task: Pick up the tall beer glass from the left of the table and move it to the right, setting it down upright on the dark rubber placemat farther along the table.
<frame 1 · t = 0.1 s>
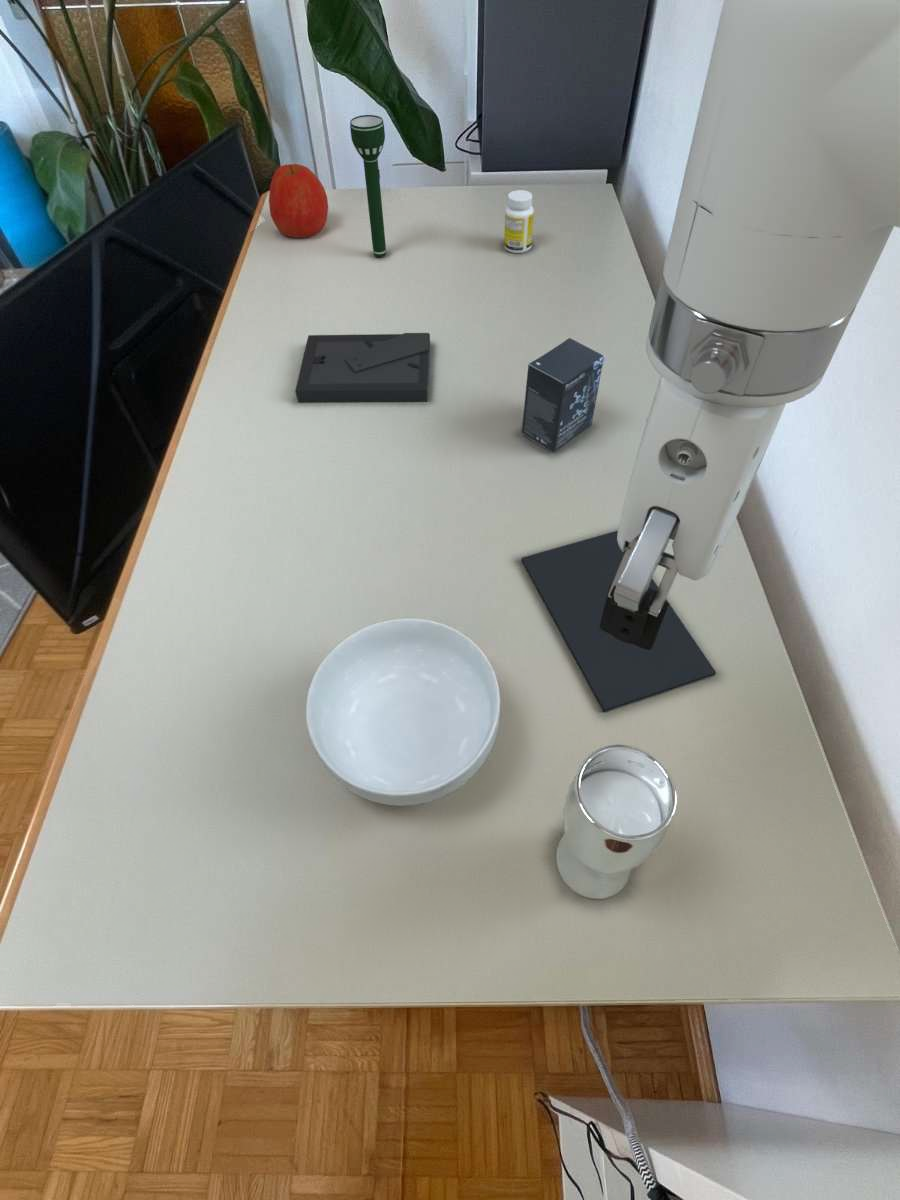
hand: (656, 579, 43), 25 cm above the table, tool pointing down, fingers open, 9 cm apart
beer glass: (592, 861, 58), on the table
picture frame: (366, 374, 99), on the table
cereal bowl: (408, 736, 65), on the table
flashlight: (380, 256, 120), on the table
placemat: (611, 614, 72), on the table
apple: (302, 230, 126), on the table
supplement bottle: (517, 248, 120), on the table
box: (556, 431, 91), on the table
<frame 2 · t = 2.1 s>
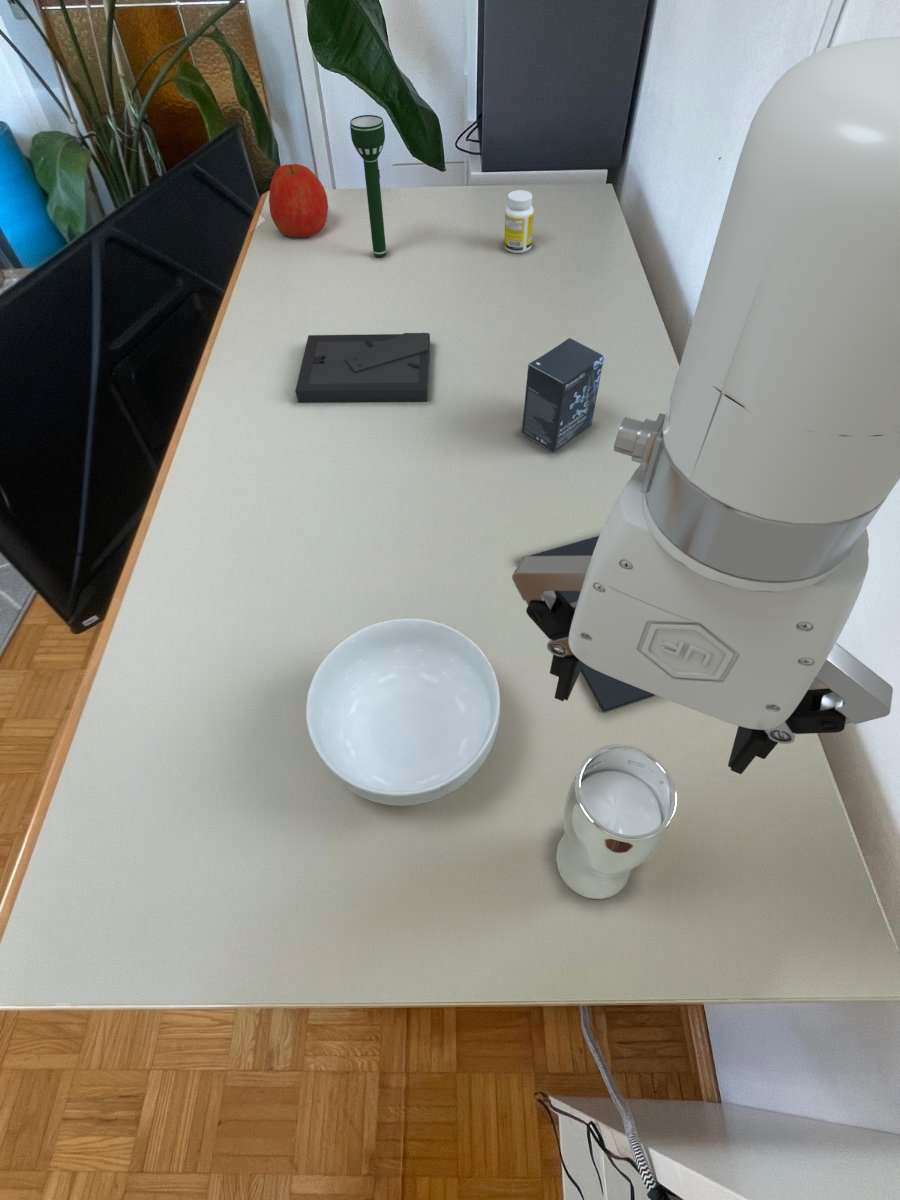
hand: (651, 713, 38), 24 cm above the table, tool pointing down, fingers open, 9 cm apart
nothing on the table moved.
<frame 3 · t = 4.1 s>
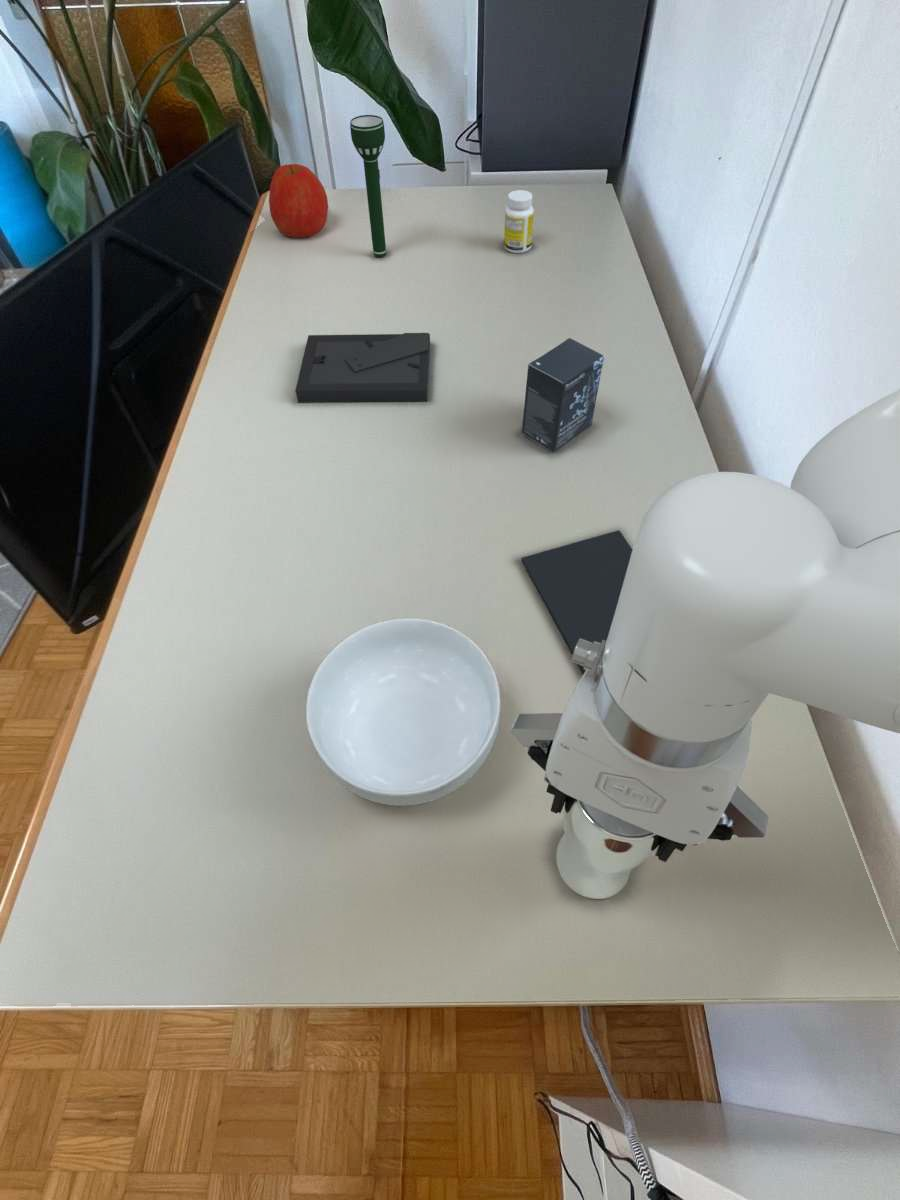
hand: (613, 816, 49), 10 cm above the table, tool pointing down, fingers closed on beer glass, 7 cm apart
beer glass: (592, 861, 58), on the table, touching gripper
everything else where it was.
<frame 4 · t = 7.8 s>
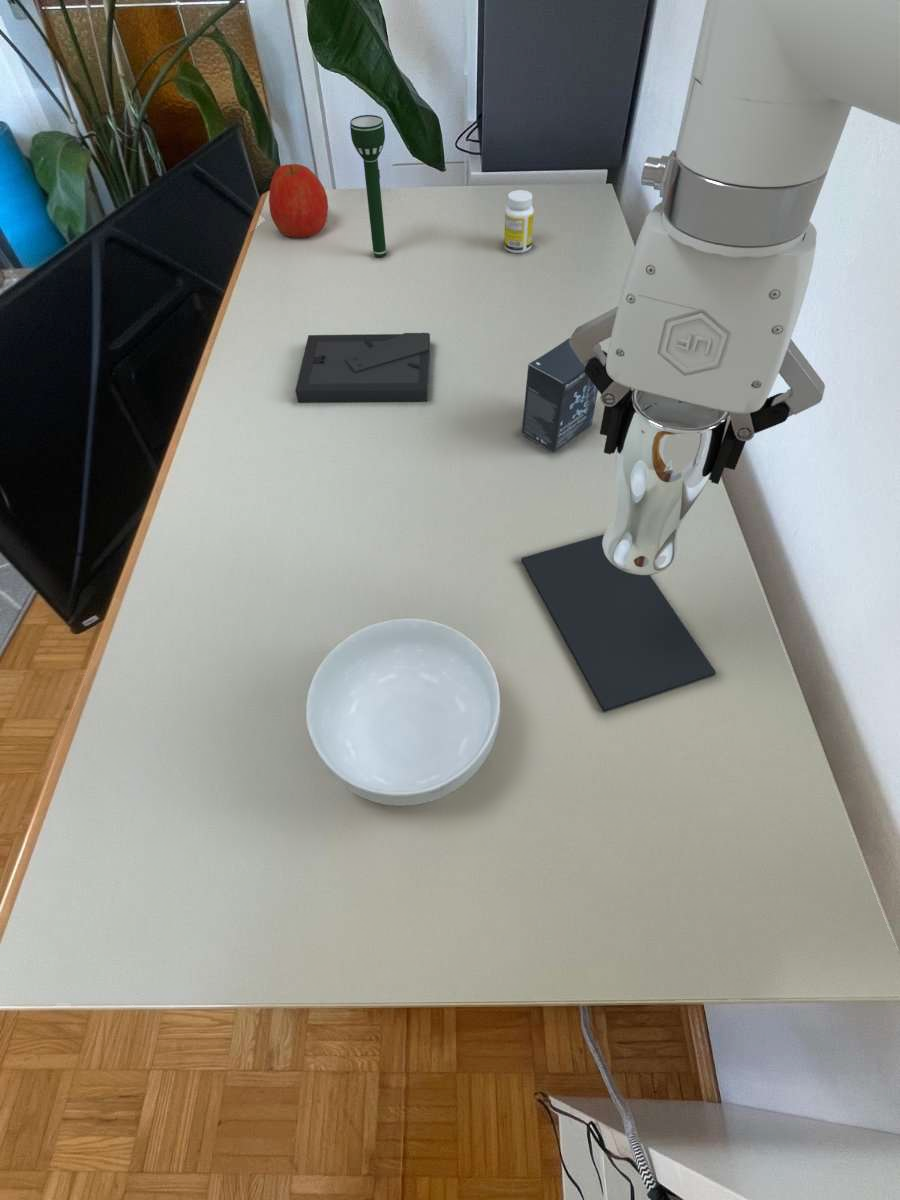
hand: (665, 455, 51), 25 cm above the table, tool pointing down, fingers closed on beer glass, 7 cm apart
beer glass: (637, 550, 59), point 14 cm above the table, touching gripper
everything else where it was.
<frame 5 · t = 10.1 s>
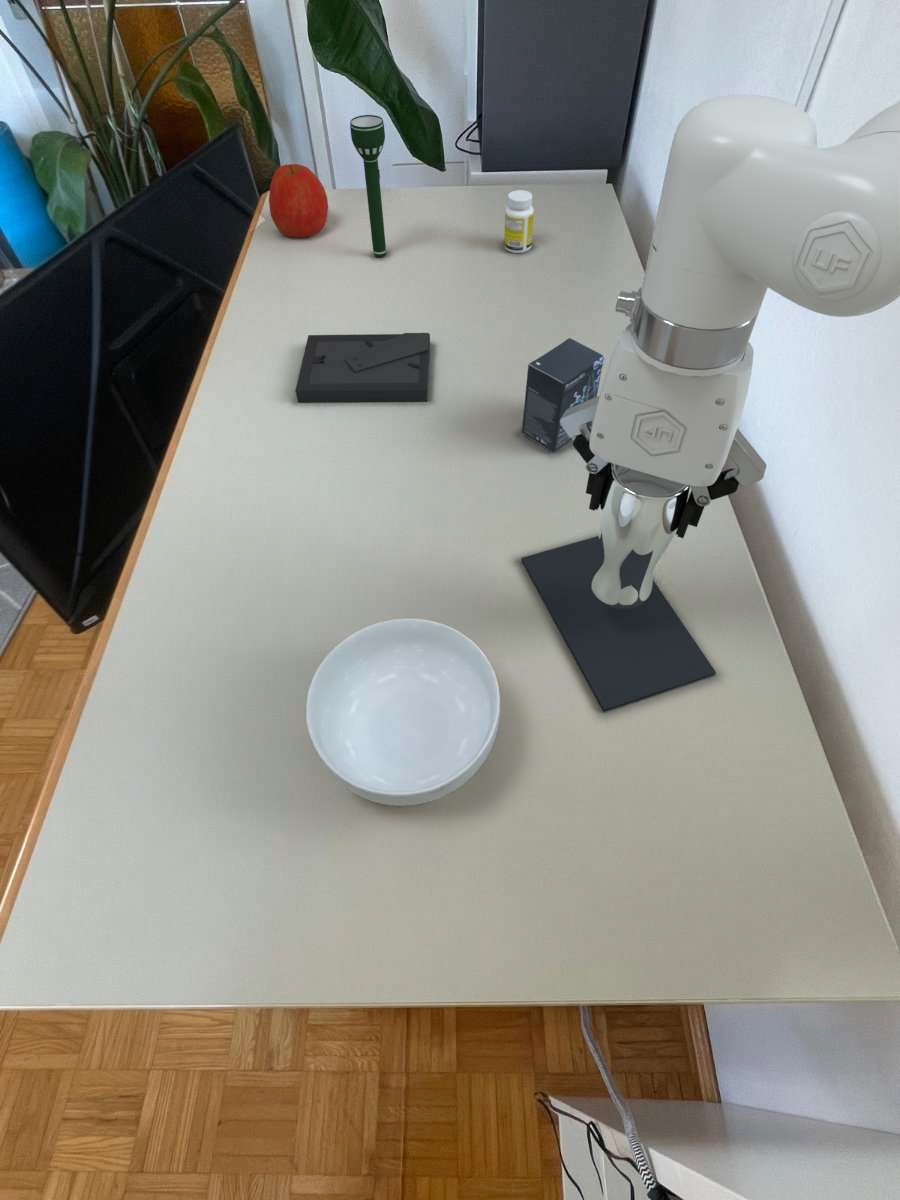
hand: (640, 511, 60), 15 cm above the table, tool pointing down, fingers closed on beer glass, 7 cm apart
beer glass: (619, 586, 69), point 5 cm above the table, touching gripper
everything else where it was.
when the fingers open (11 cm above the table, at t = 11.8 s): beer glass stays where it is, resting on placemat.
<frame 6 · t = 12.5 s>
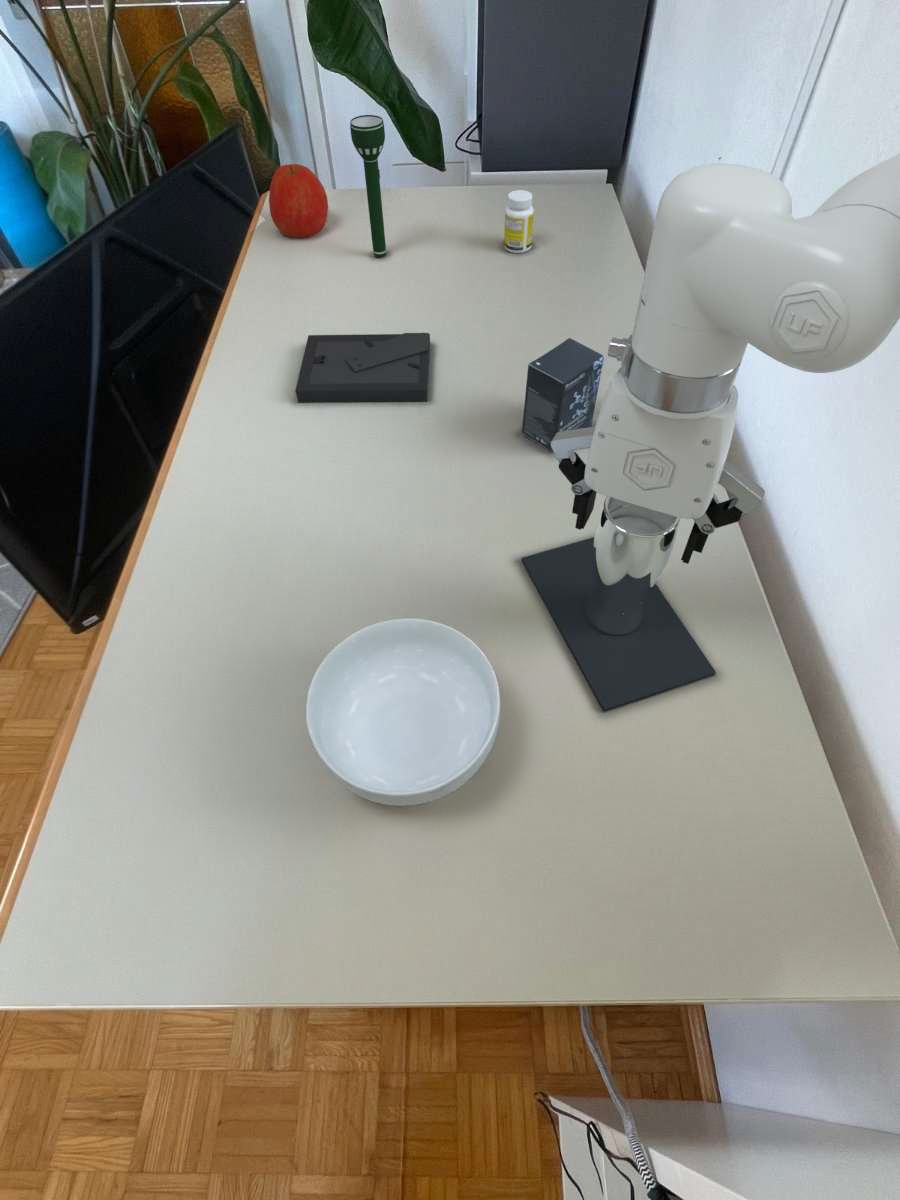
hand: (635, 535, 63), 12 cm above the table, tool pointing down, fingers open, 9 cm apart
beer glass: (613, 612, 72), resting on placemat
everything else where it was.
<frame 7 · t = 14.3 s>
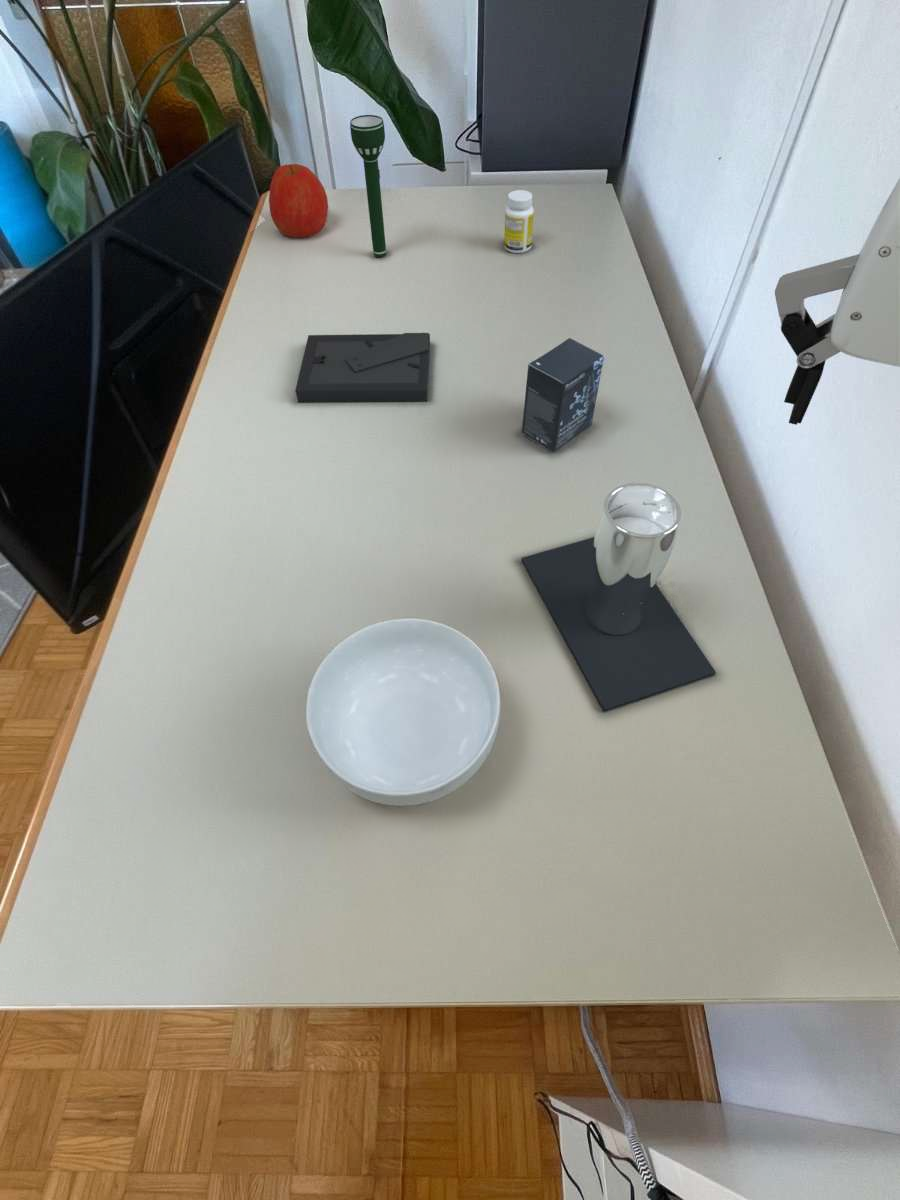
hand: (875, 430, 45), 29 cm above the table, tool pointing down, fingers open, 9 cm apart
nothing on the table moved.
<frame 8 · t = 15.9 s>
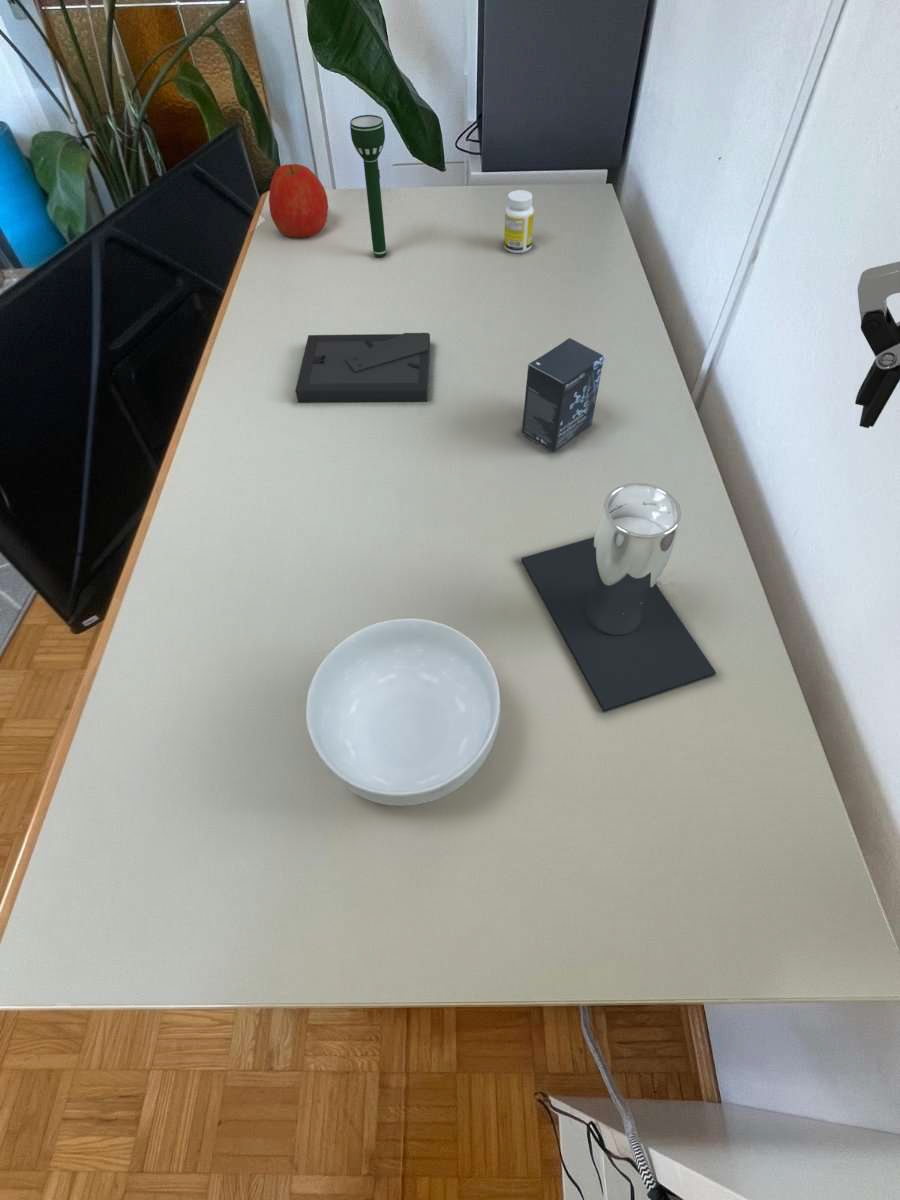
nothing on the table moved.
at the end: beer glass inside the target area on the placemat (0.1 cm from its centre), point 0.4 cm above the placemat's base; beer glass tilted 0°; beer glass moved 25.5 cm from its start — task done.
